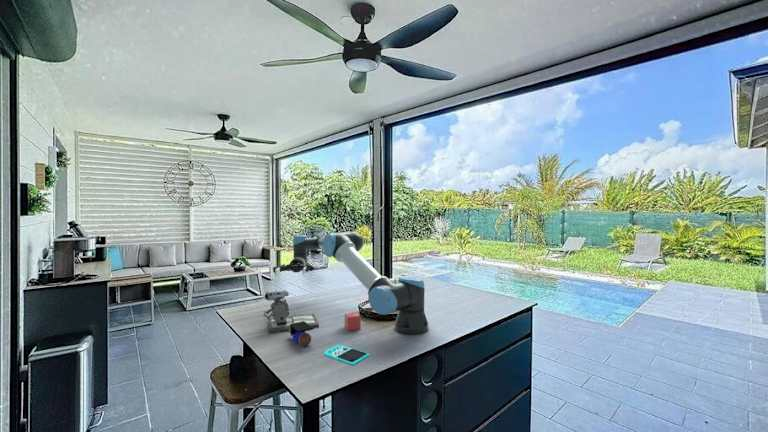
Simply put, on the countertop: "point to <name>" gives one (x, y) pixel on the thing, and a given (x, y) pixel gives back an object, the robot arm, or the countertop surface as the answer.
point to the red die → (352, 321)
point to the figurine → (278, 306)
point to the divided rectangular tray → (307, 318)
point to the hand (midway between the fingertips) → (290, 272)
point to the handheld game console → (346, 354)
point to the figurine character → (300, 332)
